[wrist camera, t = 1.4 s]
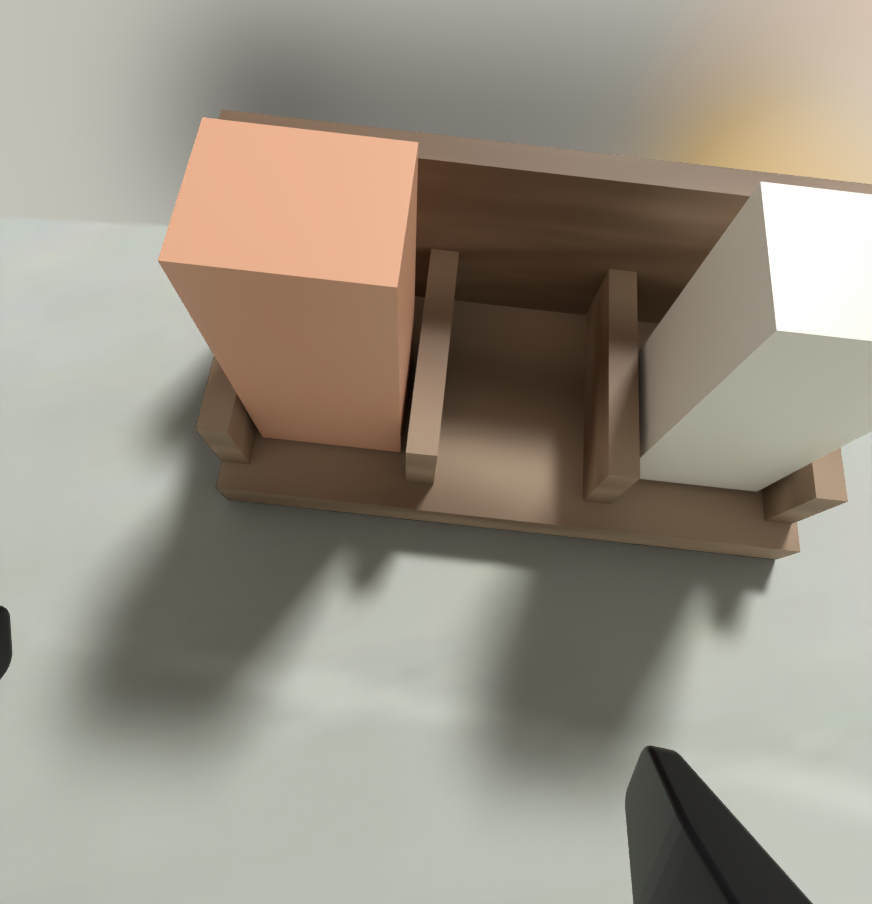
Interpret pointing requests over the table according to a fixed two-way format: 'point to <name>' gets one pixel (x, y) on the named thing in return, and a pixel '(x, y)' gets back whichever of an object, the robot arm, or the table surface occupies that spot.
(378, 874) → the table surface
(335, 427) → the light orange tall block
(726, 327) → the white tall block
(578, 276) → the wooden desk organizer
